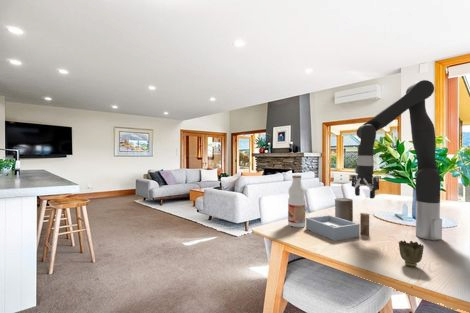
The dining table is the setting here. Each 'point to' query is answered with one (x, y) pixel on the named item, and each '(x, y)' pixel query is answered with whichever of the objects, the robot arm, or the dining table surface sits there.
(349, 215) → the pillar candle
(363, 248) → the dining table surface
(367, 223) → the peg
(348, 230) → the box
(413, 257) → the mottled brown rounded lump
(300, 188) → the fruit juice
